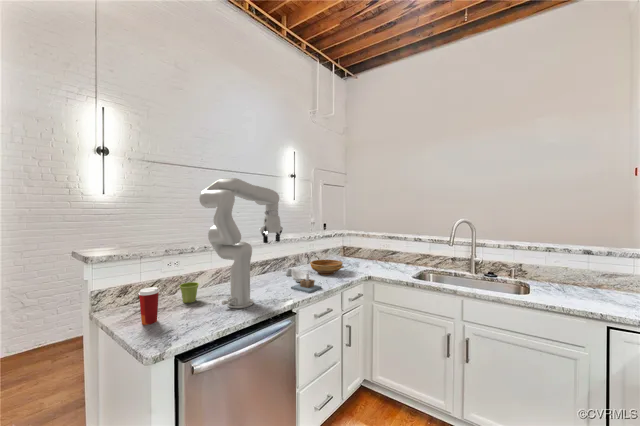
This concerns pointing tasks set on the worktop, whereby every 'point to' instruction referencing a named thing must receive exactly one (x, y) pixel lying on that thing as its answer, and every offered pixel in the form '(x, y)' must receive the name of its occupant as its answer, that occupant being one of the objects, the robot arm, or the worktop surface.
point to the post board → (307, 290)
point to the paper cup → (149, 305)
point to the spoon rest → (296, 274)
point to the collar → (307, 283)
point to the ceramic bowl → (326, 266)
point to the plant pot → (189, 291)
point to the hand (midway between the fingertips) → (271, 242)
